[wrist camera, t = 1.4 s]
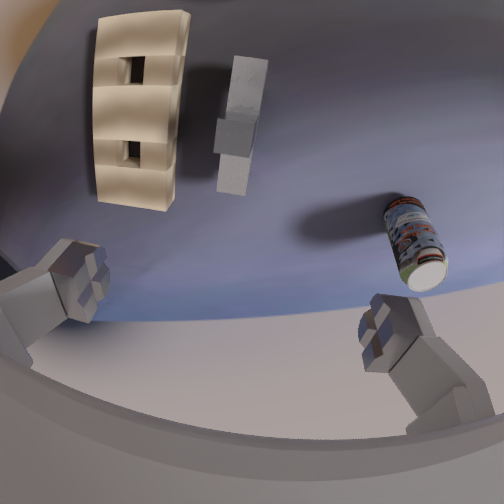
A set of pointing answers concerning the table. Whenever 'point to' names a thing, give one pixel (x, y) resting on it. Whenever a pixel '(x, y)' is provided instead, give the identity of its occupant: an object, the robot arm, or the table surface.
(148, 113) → the beige flat rectangular block
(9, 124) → the table surface
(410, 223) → the beverage can
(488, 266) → the table surface
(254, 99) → the gray u-shaped bracket
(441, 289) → the table surface
